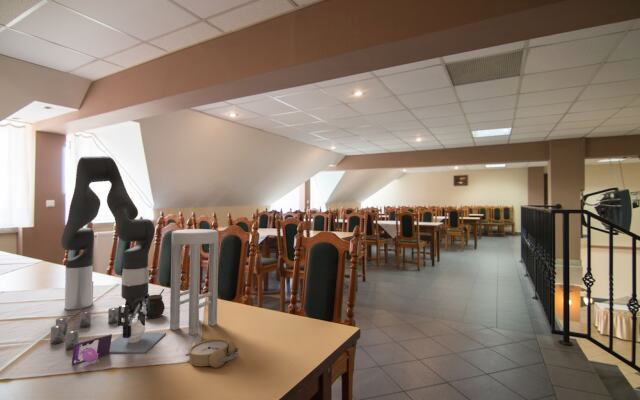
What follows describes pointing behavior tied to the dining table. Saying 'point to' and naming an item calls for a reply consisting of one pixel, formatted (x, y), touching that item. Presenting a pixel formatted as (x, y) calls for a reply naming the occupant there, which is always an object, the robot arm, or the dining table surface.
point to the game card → (90, 353)
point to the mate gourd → (155, 306)
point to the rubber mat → (138, 347)
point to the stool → (193, 277)
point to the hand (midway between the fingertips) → (134, 331)
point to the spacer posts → (73, 335)
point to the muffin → (136, 331)
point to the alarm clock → (212, 353)
